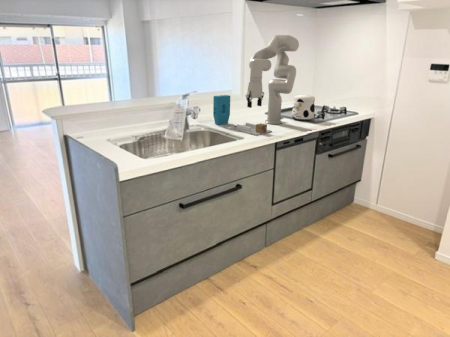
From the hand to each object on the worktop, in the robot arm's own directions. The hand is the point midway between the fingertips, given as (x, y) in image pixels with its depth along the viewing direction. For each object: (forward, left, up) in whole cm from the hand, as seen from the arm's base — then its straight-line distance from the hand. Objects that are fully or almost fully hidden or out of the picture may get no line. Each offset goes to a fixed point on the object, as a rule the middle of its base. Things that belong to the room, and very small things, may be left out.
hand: (254, 106), depth 218 cm
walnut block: (0, +7, -15) cm, 17 cm away
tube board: (0, -2, -16) cm, 16 cm away
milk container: (-60, 0, -17) cm, 62 cm away
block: (+1, -29, -17) cm, 34 cm away
